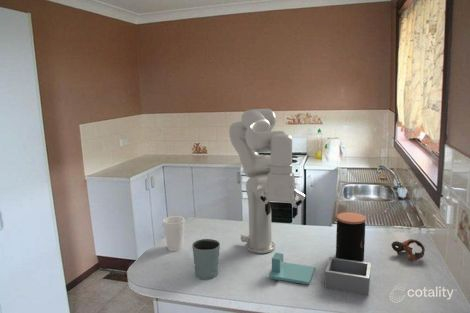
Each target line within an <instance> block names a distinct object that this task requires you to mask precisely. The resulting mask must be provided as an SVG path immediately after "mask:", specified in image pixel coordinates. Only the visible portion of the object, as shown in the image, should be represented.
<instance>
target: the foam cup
mask: <svg viewBox="0 0 470 313" xmlns="http://www.w3.org/2000/svg"><path fill="white" fill-rule="evenodd" d="M162 226H163V229H164V235H165V240H166V245H167V249H168V251H170V252H178V251H179V252H180V251H181V250H182V249H183V248H184V239H185V238H184V237H185V226H186V219H185V217H184V216H182V215H174V216H173V215H172V216H167V217H165V218H163V219H162Z"/></svg>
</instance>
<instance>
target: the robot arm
mask: <svg viewBox="0 0 470 313" xmlns="http://www.w3.org/2000/svg"><path fill="white" fill-rule="evenodd" d="M276 119H277V117H276V114H275V112H274V111H273V110H272V109H270V108H258V109H257V108H256V109H247V110H245V111H244V112H243V113H242V114H241V118H240V121H239V120H238V121H235V122H232V123H231V124H230V126H229V128H228V135H229V139H230V143H231V145H232V146H233V148H234V150H235V151H236V153H237V154H238V156H239V160H240V163H241V166H242V170H243V172H244V174H245V176H246V177H247V178H248V179H247V180H246V183H245V189H246V196H247V202H248V203H247V205H248V231H249V232H248V235H243V234H241V235H240V240H241V243H242V242H243V243H246V244H245V249H246V251H248V252H250V253H254V254H268V253H271V252H273V251H274V250H275V249H276V243H275V242H274V241H273V240H272V208H271V207H272V206H271V205H272V204H271V202H275V203H278V202H279V203H286V204H287V203H288V204H291V205H292V208H291V211H292V212H291V213H292V214H291V215H292V216H291V217H292V219H295V218H296V217H297V216H298V213H299V212H298V211H299V209H298V208H299V206H301V204H302V203H303V202H304V200H305V198H306V194H304V193H303V192H301V191H299V190H297V188H296V186H297V185H296V178H295V173H294V172H293V137H292V136H291V135H290V134H288V133H286V132H285V131H284V130H273V129H274V128H275V125H276V121H277V120H276ZM259 153H261V154H262V153H270V155H269V154H265V155H264V154H263V155H260V154H259ZM297 197H299V200H297Z"/></svg>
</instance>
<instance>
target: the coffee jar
mask: <svg viewBox="0 0 470 313" xmlns="http://www.w3.org/2000/svg"><path fill="white" fill-rule="evenodd" d="M336 219H337V221H336V232H335V233H336V235H335V236H336V237H335V238H336V244H335V258H338V259H345V260H352V261H360V262H364V260H365V246H366V244H365V243H366V241H365V240H366V219H367V218H366V216H365V215H363V214H361V213H357V212H351V211H350V212H349V211H348V212H345V211H344V212H341V213H338V214H337V216H336Z"/></svg>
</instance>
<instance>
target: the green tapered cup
mask: <svg viewBox="0 0 470 313" xmlns="http://www.w3.org/2000/svg"><path fill="white" fill-rule="evenodd" d="M191 247H192V254H193V255H192V256H193V263H194V274H195V277H196V278H197V279H199V280H203V281H208V280H213V279H215V278H216V277H217V276H218V275H219V262H220V258H219V257H220V248H221V243H220V242H219V241H218V240H216V239H212V238H203V239H202V238H201V239H198V240H196V241H194V242H192V246H191Z"/></svg>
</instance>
